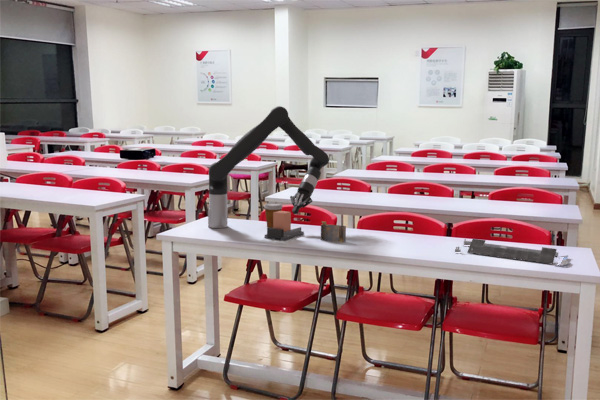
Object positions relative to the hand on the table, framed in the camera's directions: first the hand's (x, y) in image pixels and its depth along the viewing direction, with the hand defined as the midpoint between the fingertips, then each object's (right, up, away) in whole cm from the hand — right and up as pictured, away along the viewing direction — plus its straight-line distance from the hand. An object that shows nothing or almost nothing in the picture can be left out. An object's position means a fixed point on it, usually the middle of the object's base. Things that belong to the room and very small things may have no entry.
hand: (294, 213), depth 284 cm
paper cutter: (+93, -18, -39) cm, 102 cm away
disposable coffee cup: (-11, -8, +16) cm, 21 cm away
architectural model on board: (+18, -13, -14) cm, 27 cm away
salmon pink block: (-6, -9, -8) cm, 14 cm away
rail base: (-5, -11, -6) cm, 13 cm away
